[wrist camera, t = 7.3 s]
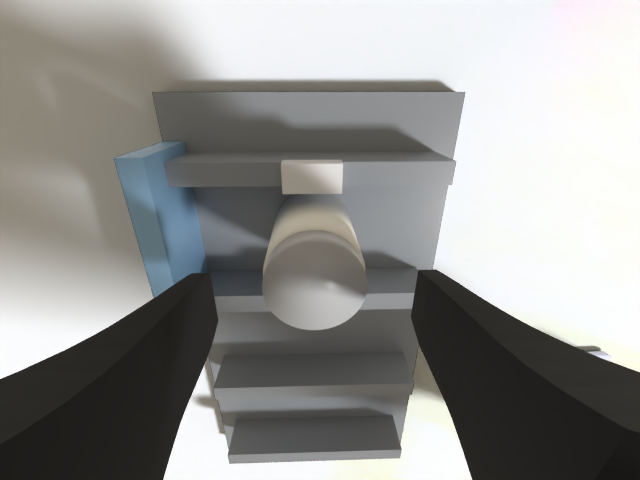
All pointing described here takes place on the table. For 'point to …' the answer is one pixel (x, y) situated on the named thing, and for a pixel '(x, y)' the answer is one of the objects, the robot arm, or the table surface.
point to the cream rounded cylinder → (313, 264)
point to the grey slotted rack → (253, 240)
